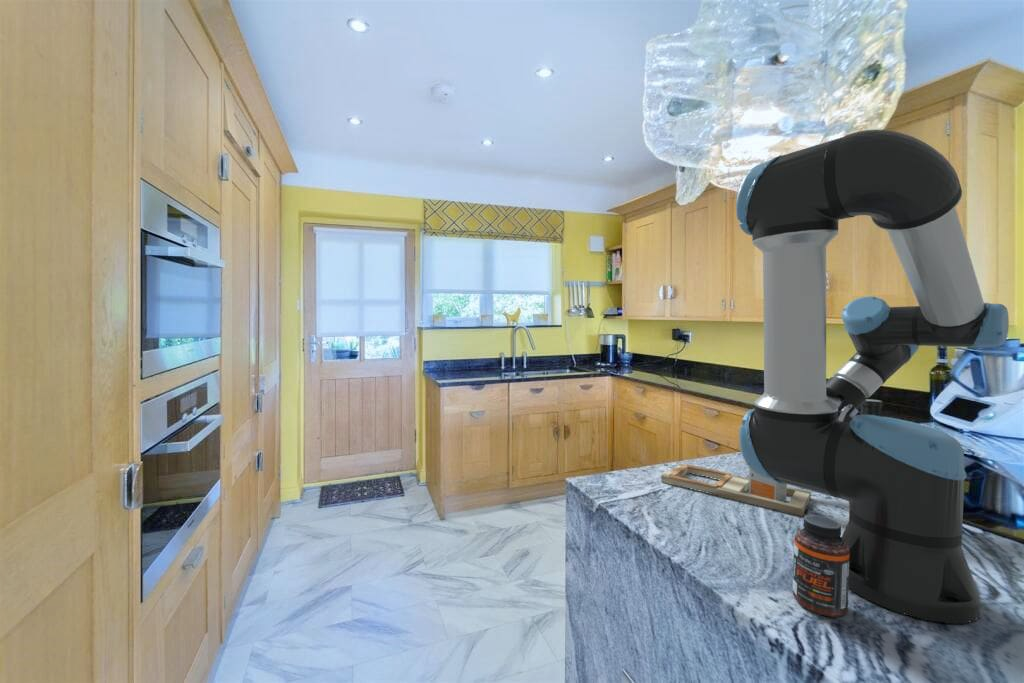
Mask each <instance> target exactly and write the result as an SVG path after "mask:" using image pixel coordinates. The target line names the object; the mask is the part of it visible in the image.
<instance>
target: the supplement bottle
mask: <svg viewBox="0 0 1024 683" xmlns="http://www.w3.org/2000/svg"><path fill="white" fill-rule="evenodd" d="M802 525H803V528H801V529H799V530H797V531H796V532H795V534H794V541H793V542H794V543H793V566H792V567H793V569H792V572H793V574H792V595H793V597H794V600H796V601H797V602H798V604H800V605H801V606H802V607H804V608H805V609H807V610H808V611H811V612H813V613H815V614H818V615H821V616H826V617H830V618H838V617H843V616H844V615H846V614H847V612H848V605H849V599H848V598H849V588H848V582H849V554H850V550H849V546H848V544H847V543H846V542H845V541H844V540H843V539H842V538H841V537H842V524H841V523H839V521H837V520H835V519H833V518H830V517H828V516H825V515H821V514H820V515H818V514H806V515H804V517H803V524H802Z"/></svg>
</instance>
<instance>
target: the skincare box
mask: <svg viewBox="0 0 1024 683" xmlns="http://www.w3.org/2000/svg"><path fill="white" fill-rule="evenodd" d="M748 468H749V470H748V478H749V488H748V494H751V495H755V496H760V497H764V498H768V499H772V500H777V501H781V502H783V501H784V502H786V501H787V487H788V486H787V485H788V484H783V483H778V482H776V481H774V480H773V479H770V478H767V477H764V476H761V475H759V474H757V473H755V472H754V471H753V470H752V469H751V468H750V467H749V466H748Z"/></svg>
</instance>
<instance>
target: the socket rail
mask: <svg viewBox="0 0 1024 683" xmlns="http://www.w3.org/2000/svg"><path fill="white" fill-rule="evenodd" d="M686 473H687V474H689V473H694V474H699V475H704V476H708V477H712V478H716V479H720V480H717V482H716V483H714V484H713V483H709V482H704V481H701V480H695V479H692V478H687V477H684V475H685V474H686ZM687 474H686V475H687ZM686 475H685V476H686ZM716 479H715V480H716ZM660 480H661V481H660V482H661V483H664V484H668V485H671V486H676V485H677V486H676V487H680V486H683V487H682V488H684V487H687V488H686V489H688V488H692V489H696V490H701V491H704V492H708V493H711V494H710V495H712V494H714V495H713V496H716V495H718V496H717V497H720V496H722V498H724V497H725V499H728V498H729V500H732V499H733V500H732V501H736V500H737V502H740V501H741V503H744V502H746V503H745V504H748V503H750V504H749V505H753V504H754V505H753V506H757V505H759V506H758V507H761V506H763V507H762V508H765V507H767V508H766V509H769V508H771V509H770V510H773V509H775V510H774V511H777V510H780V511H779V512H781V511H783V512H782V513H785V512H787V513H786V514H789V513H791V514H790V515H793V514H795V515H794V516H797V515H799V516H798V517H801V516H802V517H803V515H804V513H805V511H806V509H807V507H808V505H809V503H810V501H811V498H812V491H811V490H807V489H802V488H796V487H790V486H787V495H788V496H787V495H786V496H787V497H791V498H789V499H790V500H789V502H786V501H784V502H781V501H777V500H772V499H768V498H764V497H760V496H755V495H751V494H749V493H746V491H748V490H749V477H744V476H740V475H735V474H732V473H730V472H726V471H720V470H716V469H712V468H707V467H702V466H697V465H692V464H682V463H679V464H678V465H676V466H674V467H673V468H670V470H668V471H666V472H664V473H663V474H662V475H661V476H660ZM692 489H691V490H692ZM696 490H695V491H696ZM704 492H703V493H704ZM708 493H707V494H708Z"/></svg>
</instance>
